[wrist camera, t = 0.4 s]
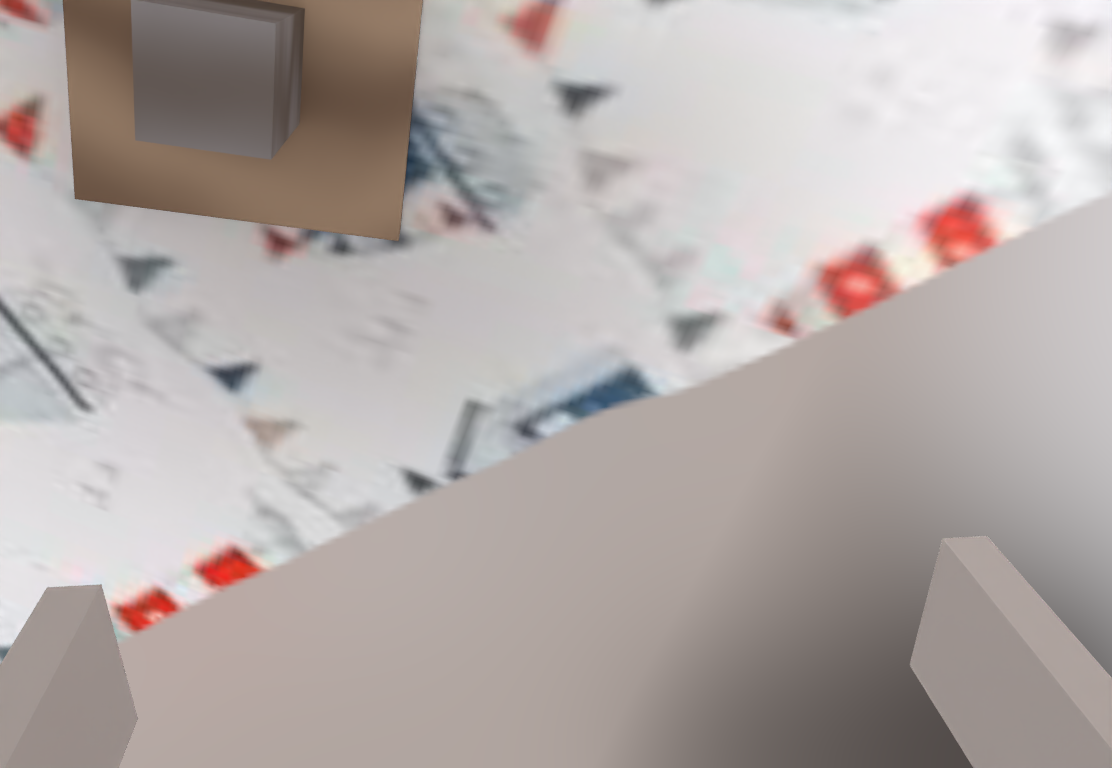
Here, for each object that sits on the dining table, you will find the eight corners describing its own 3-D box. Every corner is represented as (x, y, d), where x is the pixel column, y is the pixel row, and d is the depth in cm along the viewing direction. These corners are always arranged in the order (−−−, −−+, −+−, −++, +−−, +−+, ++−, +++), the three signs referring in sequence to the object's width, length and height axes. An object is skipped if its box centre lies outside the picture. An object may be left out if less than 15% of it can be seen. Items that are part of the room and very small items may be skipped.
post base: (70, -166, 30) (-39, -194, 23) (432, -95, 32) (427, -104, 25) (89, 188, 35) (4, 248, 28) (400, 229, 37) (389, 294, 30)
